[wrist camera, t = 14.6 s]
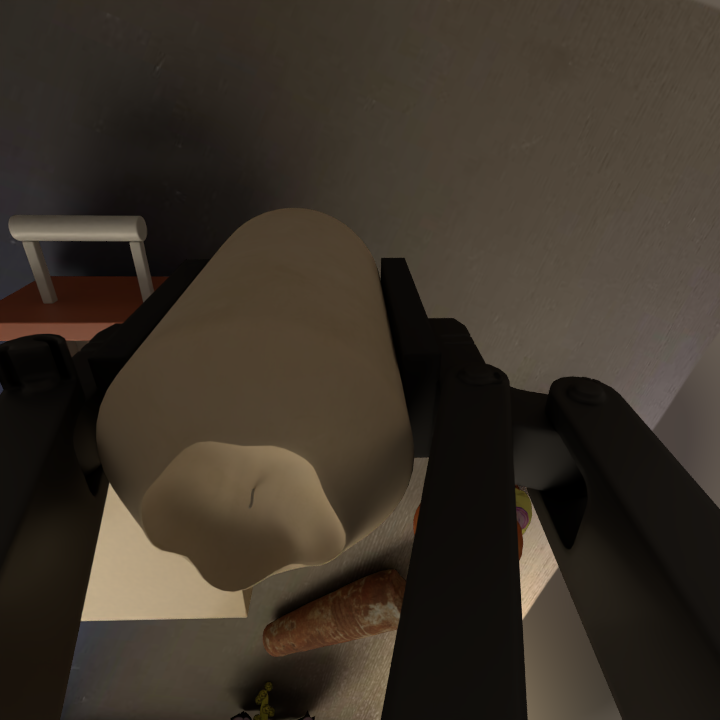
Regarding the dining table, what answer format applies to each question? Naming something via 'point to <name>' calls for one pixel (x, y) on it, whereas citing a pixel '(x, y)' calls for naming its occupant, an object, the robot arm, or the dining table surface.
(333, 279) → the candle
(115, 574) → the small drawer cabinet
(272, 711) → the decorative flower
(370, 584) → the brown sausage
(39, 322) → the drawer
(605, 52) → the dining table surface
